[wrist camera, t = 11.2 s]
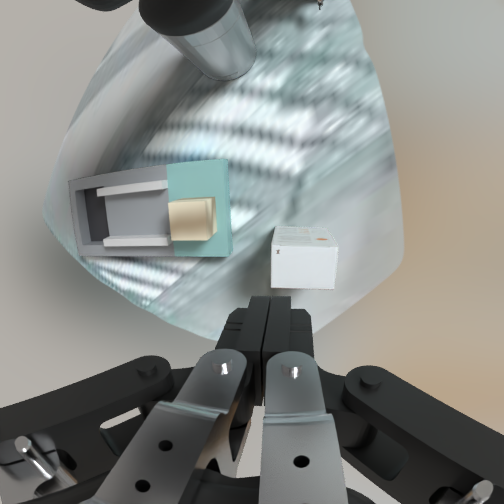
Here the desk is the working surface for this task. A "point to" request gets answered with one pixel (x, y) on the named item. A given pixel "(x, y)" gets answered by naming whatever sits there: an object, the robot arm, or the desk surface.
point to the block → (192, 218)
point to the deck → (148, 210)
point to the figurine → (320, 3)
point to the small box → (303, 258)
